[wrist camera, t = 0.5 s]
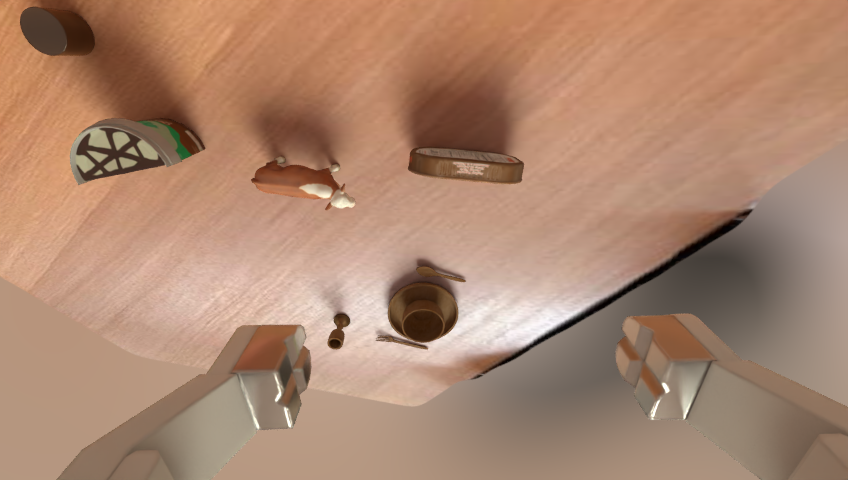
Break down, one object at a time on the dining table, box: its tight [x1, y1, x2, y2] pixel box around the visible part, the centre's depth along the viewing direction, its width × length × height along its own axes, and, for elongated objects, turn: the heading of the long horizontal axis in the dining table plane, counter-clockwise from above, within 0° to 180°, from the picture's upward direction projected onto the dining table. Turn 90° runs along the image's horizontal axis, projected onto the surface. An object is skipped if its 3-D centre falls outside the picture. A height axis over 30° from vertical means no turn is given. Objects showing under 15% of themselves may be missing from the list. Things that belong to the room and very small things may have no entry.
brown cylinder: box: [20, 7, 94, 56], centre depth 43 cm, size 5×5×4 cm
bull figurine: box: [251, 157, 355, 210], centre depth 49 cm, size 4×13×8 cm, turn 77°
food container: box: [70, 118, 205, 185], centre depth 46 cm, size 12×6×10 cm, turn 101°
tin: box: [408, 147, 524, 184], centre depth 48 cm, size 15×3×8 cm, turn 84°
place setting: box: [328, 266, 465, 349], centre depth 61 cm, size 18×20×6 cm
